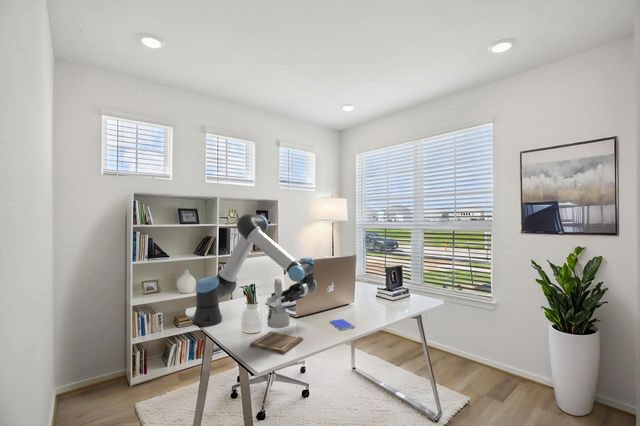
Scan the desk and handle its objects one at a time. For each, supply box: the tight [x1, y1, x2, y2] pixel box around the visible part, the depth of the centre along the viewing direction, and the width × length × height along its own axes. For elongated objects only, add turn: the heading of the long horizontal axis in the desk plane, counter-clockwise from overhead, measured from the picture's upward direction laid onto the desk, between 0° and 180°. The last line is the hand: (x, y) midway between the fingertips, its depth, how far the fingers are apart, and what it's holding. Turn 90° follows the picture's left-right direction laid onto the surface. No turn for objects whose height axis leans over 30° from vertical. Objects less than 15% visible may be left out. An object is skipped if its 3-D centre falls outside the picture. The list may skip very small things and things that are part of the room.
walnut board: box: [249, 331, 304, 355], centre depth 140 cm, size 18×16×1 cm
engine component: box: [267, 278, 291, 329], centre depth 140 cm, size 11×20×10 cm
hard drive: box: [329, 318, 356, 331], centre depth 164 cm, size 2×8×12 cm
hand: (272, 302), depth 137 cm, fingers closed on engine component, 4 cm apart
